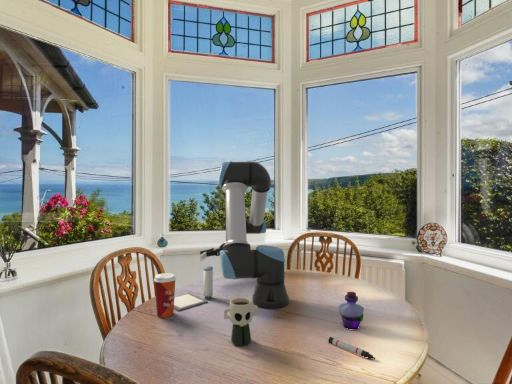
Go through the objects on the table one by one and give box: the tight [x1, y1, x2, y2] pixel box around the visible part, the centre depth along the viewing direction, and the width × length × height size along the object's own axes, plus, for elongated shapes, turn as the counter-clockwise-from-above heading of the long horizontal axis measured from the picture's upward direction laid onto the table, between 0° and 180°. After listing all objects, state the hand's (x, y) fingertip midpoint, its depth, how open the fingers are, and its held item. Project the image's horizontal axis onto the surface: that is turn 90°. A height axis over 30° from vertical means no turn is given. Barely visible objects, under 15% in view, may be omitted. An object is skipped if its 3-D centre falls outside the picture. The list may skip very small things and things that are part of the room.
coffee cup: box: [153, 272, 177, 319], centre depth 128 cm, size 8×8×15 cm
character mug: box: [223, 297, 259, 346], centre depth 106 cm, size 11×7×13 cm, turn 106°
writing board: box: [174, 292, 209, 312], centre depth 141 cm, size 14×14×1 cm
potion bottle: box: [338, 291, 365, 330], centre depth 117 cm, size 9×9×12 cm
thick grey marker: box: [202, 265, 214, 301], centre depth 146 cm, size 4×4×14 cm
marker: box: [327, 336, 376, 360], centre depth 100 cm, size 15×2×2 cm, turn 42°
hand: (214, 258), depth 156 cm, fingers open, 13 cm apart
